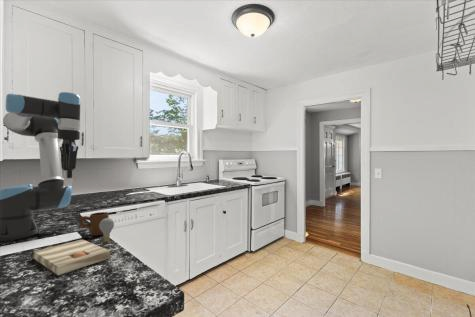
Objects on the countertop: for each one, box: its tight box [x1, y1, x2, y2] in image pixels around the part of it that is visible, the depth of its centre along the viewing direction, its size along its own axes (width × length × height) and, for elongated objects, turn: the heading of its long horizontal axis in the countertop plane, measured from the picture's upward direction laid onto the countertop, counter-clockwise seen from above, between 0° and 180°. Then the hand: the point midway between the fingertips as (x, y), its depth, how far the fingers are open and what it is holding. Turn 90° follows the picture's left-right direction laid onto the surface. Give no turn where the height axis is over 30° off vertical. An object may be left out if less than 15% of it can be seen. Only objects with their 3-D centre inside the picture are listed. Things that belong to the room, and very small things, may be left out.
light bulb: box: [99, 218, 115, 243], centre depth 95 cm, size 5×6×10 cm
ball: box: [74, 252, 86, 259], centre depth 76 cm, size 3×3×3 cm
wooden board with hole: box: [33, 239, 111, 276], centre depth 79 cm, size 22×15×2 cm
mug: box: [78, 211, 109, 237], centre depth 106 cm, size 12×8×9 cm, turn 131°
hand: (68, 185), depth 96 cm, fingers closed
